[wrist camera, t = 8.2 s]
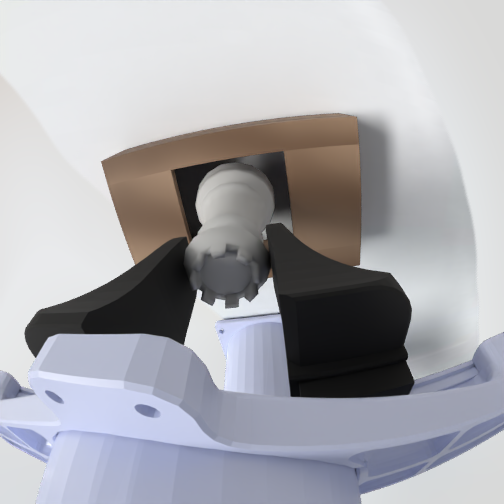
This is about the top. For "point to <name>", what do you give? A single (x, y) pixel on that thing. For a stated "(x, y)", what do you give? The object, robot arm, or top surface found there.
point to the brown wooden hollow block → (239, 145)
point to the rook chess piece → (231, 234)
